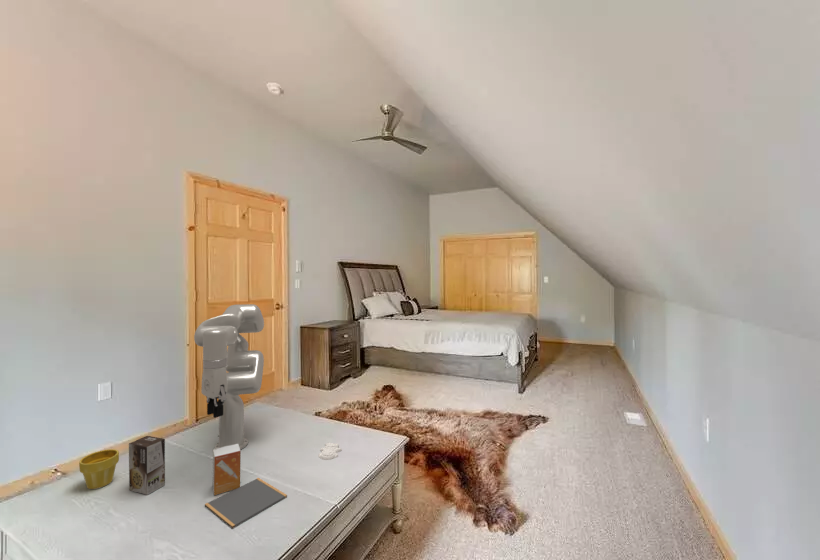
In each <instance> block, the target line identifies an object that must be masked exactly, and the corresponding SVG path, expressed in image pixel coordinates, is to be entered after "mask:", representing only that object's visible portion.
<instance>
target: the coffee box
mask: <svg viewBox="0 0 820 560" xmlns="http://www.w3.org/2000/svg"><path fill="white" fill-rule="evenodd" d="M165 440H166V439H165V438H162V437H156V436H153V435H152V436H151V435H145V436H143V437H140V438H138V439H136V440H134V441H131V442H129V443H128V475H129V477H128V482H129V483H128V484H129V486H128V489H129V490H128V491H132V492H136V493H139V494H142V495H143V494H144V495H147V496H149V494H152V493H154V492H155V491H157V490H159V489H160V488H163V487H165V485H166V458H165V457H166V456H165V455H166V446H165V444H166V441H165Z"/></svg>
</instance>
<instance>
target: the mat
mask: <svg viewBox="0 0 820 560" xmlns="http://www.w3.org/2000/svg"><path fill="white" fill-rule="evenodd" d="M287 497H288V495H287V493H285V492H283V491H282V490H280V489H278V488H277V487H276V486H274V485H271V484H270V483H269V482H267V481H265V480H263V479H261V478H260V477H257V478H255V479H254V480H250V481H249V482H247V483H245V484H243V485H240V487H239V488H237V489H234V490H231V491H228V492H226V493H225V494H223V495H220V496H218V497H217V498H215V499H213V500H211V501H209V502H205V504H204V507H205V508H206V509H207V510H209V511H210V512H211V513H212V514H214V515H215V516H216V517H217V518H219V520H221V521H222V522H223V523H225V524H226V525H227V526H228V527H230V528H231V529H233V530H234V528H237V527H238V526H240V525H241V524H243V523H245V522H246V521H248V520H250V519H252V518H253V517H255V516H257V515H258V514H261V513H262V512H264V511H266V510H268V509H269V508H271V507H273V506H275V505H276V504H278V503H280V502H281V501H283V500H284V499H286V498H287Z"/></svg>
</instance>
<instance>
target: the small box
mask: <svg viewBox="0 0 820 560" xmlns="http://www.w3.org/2000/svg"><path fill="white" fill-rule="evenodd" d="M241 457H242V456H241V449H240V447H239V444H235V445H230V446H225V447H221V448H217V449H215V448H214V449H212V490H213V496H216V495H219V494H224V493H228V492H231V491H233V490H235V489H237V488H239V487H241Z"/></svg>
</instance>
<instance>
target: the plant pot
mask: <svg viewBox="0 0 820 560" xmlns="http://www.w3.org/2000/svg"><path fill="white" fill-rule="evenodd" d="M119 460H120V452H119V450H118V449H114V448H113V449H112V448H111V449H103V450H98V451H94V452H92V453H90V454H88V455H87V454H86V455H85V456H84V457H82V458H81V459H80V460H79V464H78V465H79V472H80V473H81V474H82V476H83V478H84V481H85V484H86V488H87V489H88V490H96V489H100V488H103V487H105V486H108V485H110V484H111V483H112V482H113V479H114V475H115V471H116V468H117V467H116V466H117V464H118V463H119Z"/></svg>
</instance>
